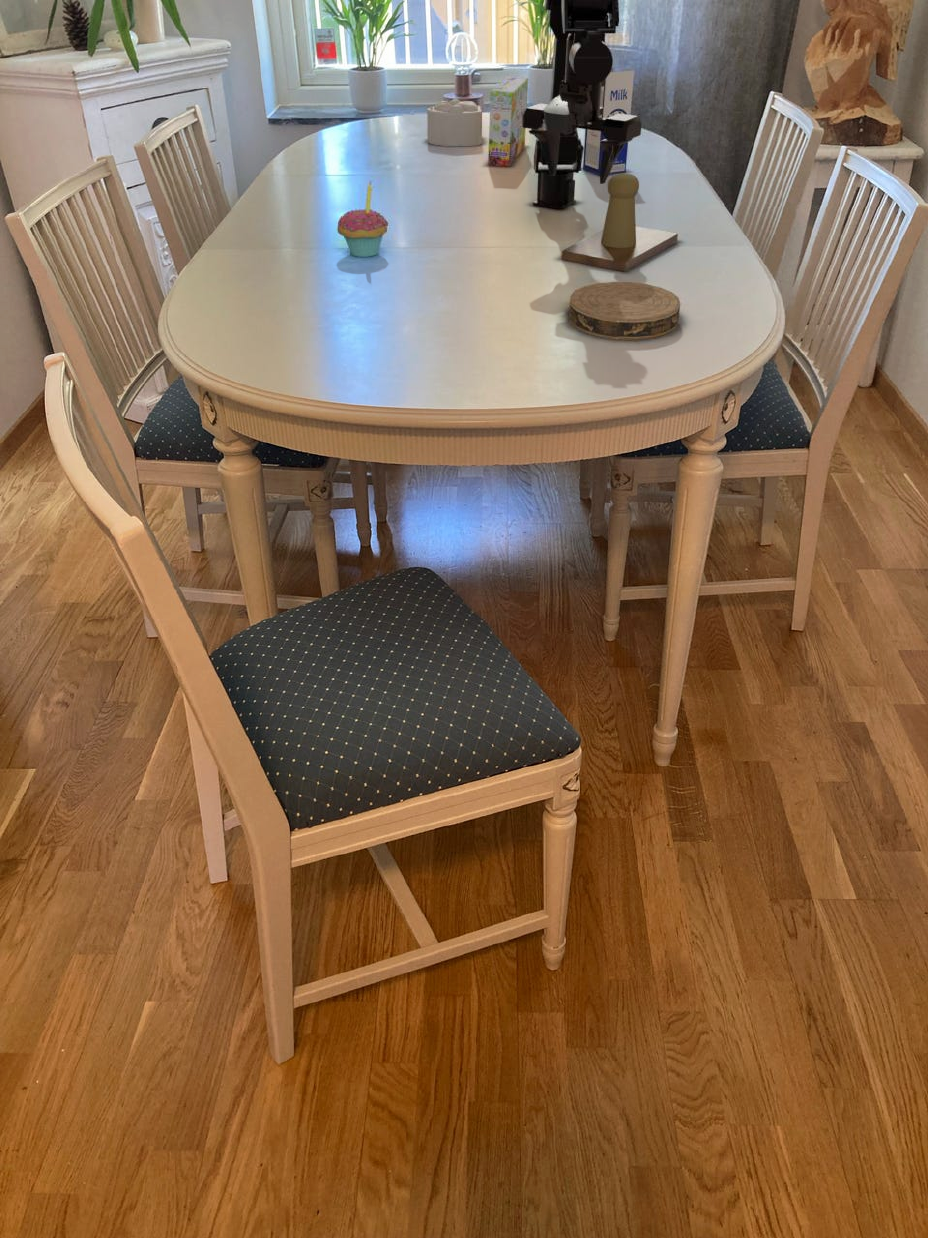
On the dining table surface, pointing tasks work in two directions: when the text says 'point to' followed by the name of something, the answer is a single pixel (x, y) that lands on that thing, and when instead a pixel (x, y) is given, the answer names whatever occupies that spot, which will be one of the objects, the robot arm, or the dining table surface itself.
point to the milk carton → (614, 102)
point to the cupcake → (363, 229)
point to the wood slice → (624, 310)
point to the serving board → (620, 250)
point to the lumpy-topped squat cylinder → (455, 123)
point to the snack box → (507, 120)
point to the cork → (621, 212)
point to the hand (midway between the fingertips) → (577, 179)
